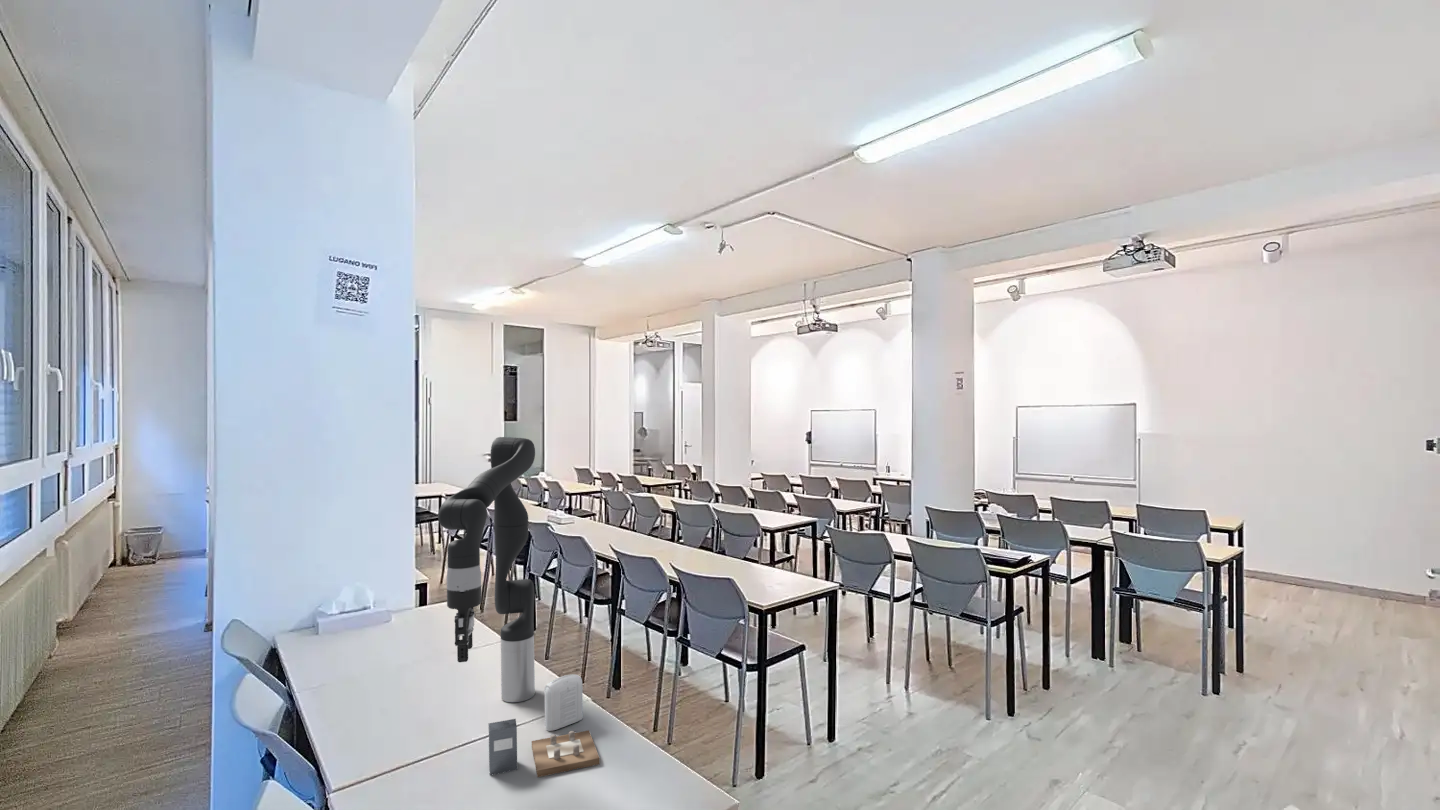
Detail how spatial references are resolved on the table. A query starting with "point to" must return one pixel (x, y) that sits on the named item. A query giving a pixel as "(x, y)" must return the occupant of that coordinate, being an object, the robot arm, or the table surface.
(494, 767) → the block
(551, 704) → the photo printer
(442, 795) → the table surface
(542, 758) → the pin tray
